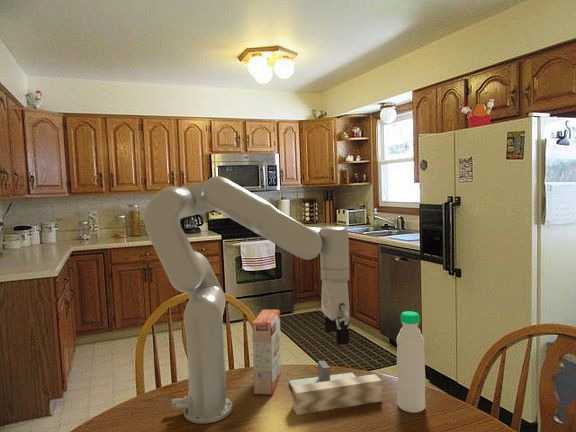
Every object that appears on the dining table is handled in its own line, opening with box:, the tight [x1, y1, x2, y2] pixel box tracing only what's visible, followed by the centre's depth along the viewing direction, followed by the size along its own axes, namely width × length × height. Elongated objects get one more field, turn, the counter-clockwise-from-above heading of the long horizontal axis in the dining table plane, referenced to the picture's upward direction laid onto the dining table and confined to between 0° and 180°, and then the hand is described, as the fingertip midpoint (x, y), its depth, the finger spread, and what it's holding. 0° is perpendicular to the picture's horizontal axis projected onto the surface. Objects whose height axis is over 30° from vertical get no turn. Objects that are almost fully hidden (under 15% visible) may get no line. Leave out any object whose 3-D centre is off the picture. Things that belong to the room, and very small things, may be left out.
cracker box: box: [252, 309, 282, 396], centre depth 123 cm, size 14×6×21 cm, turn 171°
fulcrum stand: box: [288, 360, 357, 389], centre depth 123 cm, size 20×6×6 cm, turn 102°
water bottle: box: [395, 311, 426, 414], centre depth 108 cm, size 7×7×25 cm
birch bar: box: [291, 373, 383, 416], centre depth 111 cm, size 24×4×6 cm, turn 104°
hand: (336, 337), depth 110 cm, fingers open, 9 cm apart
